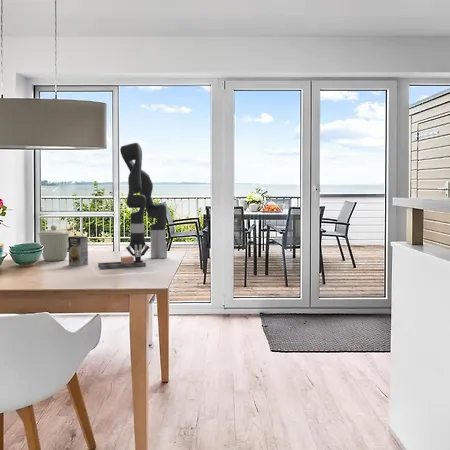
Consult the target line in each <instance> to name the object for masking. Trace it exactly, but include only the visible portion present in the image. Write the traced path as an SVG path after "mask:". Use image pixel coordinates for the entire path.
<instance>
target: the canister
mask: <svg viewBox="0 0 450 450" xmlns="http://www.w3.org/2000/svg"><path fill="white" fill-rule="evenodd" d="M37 235H38V237H39V242H40V246H41V245H43V246H44V248H43V253H42V252H41V254H42V255H41V256H42V258H43V260H44V261H46V262H58V261H59V262H61V261H64V260H66V258H67V255H68V250H69V248H68V237H70V236H69V235H70V231H68V230H65V229H58V226H57V225H55V224H54V225H53V224H52V225H50V229H45V230H41V231H39V233H37Z"/></svg>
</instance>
